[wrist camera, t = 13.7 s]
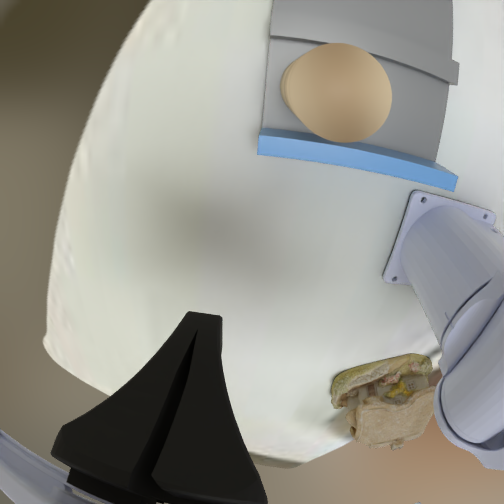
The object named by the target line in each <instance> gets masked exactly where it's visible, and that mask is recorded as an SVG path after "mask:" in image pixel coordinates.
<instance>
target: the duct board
mask: <svg viewBox="0 0 504 504" xmlns="http://www.w3.org/2000/svg"><path fill="white" fill-rule="evenodd" d="M329 43H345V44H350V45H353V46H356V47H359V48H361V49H363V50H365V51H366V52H368V53H369V54H370V55H372V56H373V57H374V58H375V59H376V60H377V61H378V62H379V63H380V64H381V66H382V67H383V69H384V70H385V72H386V74H387V76H388V79H389V81H390V85H391V90H392V103H391V108H390V112H389V115H388V117H387V119H386V120H385V122H384V124H383V125H382V126H381V127H380V128H379V129H378V130H377V131H376V132H375V133H374V134H372V135H371V136H369V137H367V138H365V139H363V140H360V141H356V142H349V143H340V142H334V141H330V140H327V139H324V138H322V137H320V136H318V135H317V134H315V133H314V132H312V131H311V130H309V129H308V128H307V127H306V126H305V125H304V124H303V123H302V122H301V121H300V119H299V118H298V117H297V116H296V115H295V114H294V113H293V112H292V111H291V110H290V109H289V108H288V107H287V105H286V104H285V102H284V100H283V98H282V95H281V91H280V81H281V77H282V75H283V72H284V71H285V69H286V68H287V67H288V66H289V65H290V64H291V63H292V62H293V61H295V60H296V59H298V58H299V57H301V56H302V55H304V54H305V53H307V52H309V51H310V50H312V49H314V48H316V47H318V46H321V45H324V44H329ZM452 44H453V4H452V0H274V1H273V10H272V15H271V26H270V44H269V55H268V66H267V77H266V88H265V99H264V110H263V121H262V129H261V131H260V134H259V140H258V151H257V155H265V156H274V157H283V158H291V159H299V160H306V161H313V162H320V163H326V164H333V165H339V166H344V167H350V168H355V169H361V170H366V171H371V172H376V173H381V174H385V175H390V176H394V177H399V178H403V179H407V180H411V181H415V182H419V183H423V184H427V185H431V186H434V187H438V188H442V189H445V190H449V191H452V192H454V189H455V186H456V182H457V179H458V176H457V175H455V174H454V173H452V172H451V171H449V170H447V169H446V168H444V167H443V166H441V165H440V164H438V163H436V162H435V160H436V156H437V152H438V147H439V143H440V138H441V133H442V128H443V123H444V117H445V111H446V105H447V98H448V91H449V85H457V84H458V75H459V63H458V62H456V61H454V60H452Z"/></svg>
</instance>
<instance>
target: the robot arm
mask: <svg viewBox="0 0 504 504" xmlns="http://www.w3.org/2000/svg"><path fill="white" fill-rule="evenodd" d="M422 197H424V200H423V201H421V198H422ZM484 215H485V216H484ZM495 219H496V215H495V213H493V212H492V211H489V210H486V209H483V208H480V207H476V206H473V205H470V204H466V203H463V202H460V201H456V200H452V199H449V198H445V197H441V196H438V195H434V194H430V193H426V192H422V191H414V192H413V193H412V194H411V196H410V200H409V203H408V206H407V210H406V213H405V216H404V219H403V222H402V225H401V228H400V231H399V234H398V237H397V240H396V243H395V246H394V248H393V251H392V254H391V257H390V259H389V262H388V264H387V267H386V270H385V272H384V275H383V279H384V281H385V282H386V283H393V284H405V285H412V287H413V289H414V291H415V293H416V295H417V297H418V299H419V301H420V303H421V305H422V307H423V309H424V312H425V314H426V316H427V318H428V320H429V322H430V324H431V327H432V329H433V331H434V333H435V336H436V338H437V340H438V343H439V345H440V347H441V350H442V357H441V359H440V360H439V362H438V364H439V366H440V369H441V372H442V375H443V377H442V378H441V379H440V381H439V383H438V384H437V387H436V389H435V393H434V400H433V406H434V413H435V417H436V420H437V423H438V426H439V427H440V429H441V431H442V433H443V434H444V435H445V437H446V438H447V439H448V440H449V441H450V442H452V443H453V444H455V445H456V446H458V447H460V448H462V449H465V450H467V451H469V452H471V453H473V454H474V455H475V456H476V457H477V458H478V459H479V461H480V462H481V463H482V465H483V466H484V467H485V468H489V469H497V470H504V236H503V235H502V234H501V233H500V232H499V231H498V230H497V229H496V228H495V227H494V226H493V224H494V222H495ZM395 276H396V277H395ZM393 277H395V278H393ZM392 278H393V279H392ZM221 352H222V317H221V316H220V315H212V314H205V313H198V312H191V311H189V312H187V313H186V315H185V316H184V318H183V319H182V321H181V322H180V323H179V325H178V326H177V328H176V329H175V330H174V332H173V333H172V334H171V336H170V337H169V338H168V339H167V341H166V342H165V343H164V344H163V345H162V347H161V348H160V349H159V350H158V352H157V353H156V354H155V355H154V356H153V357H152V358H151V359H150V360H149V361H148V363H147V364H146V365H145V366H144V367H143V368H142V369H141V370H140V371H139V372H138V373H137V374H136V375H135V376H134V377H133V378H132V379H130V380H129V381H128V382H127V383H126V384H125V385H124V386H122V387H121V388H120V389H119V390H118V391H116V392H115V393H114V394H113V395H111V396H110V397H109V398H107V399H106V400H105V401H103V402H102V403H100V404H99V405H97V406H96V407H94V408H93V409H91V410H90V411H88V412H87V413H85V414H84V415H82V416H80V417H78V418H77V419H75V420H73V421H71V422H69V423H67V424H65V425H63V426H62V428H61V430H60V431H59V433H58V435H57V437H56V440H55V442H54V445H53V448H52V450H51V455H52V456H53V457H54V458H56V459H57V460H59V461H61V462H63V463H64V464H66V465H67V466H69V467H71V469H70V472H69V473H68V472H66V471H64V470H62V469H60V468H59V467H57V466H55V465H53V464H51V463H50V462H48V461H46V460H45V459H43V458H41V457H40V456H38V455H36V454H35V453H33V452H32V451H30V450H28V449H27V448H25V447H24V446H22V445H21V444H19V443H18V442H17V441H16V440H14V439H13V438H11V437H10V436H9V435H7V434H6V433H5V432H3V431H2V430H1V429H0V489H1V490H2V491H3V492H4V493H5V494H6V495H7V496H8V497H9V498H10V499H11V500H12V501H13V502H14V503H15V504H97V503H95V502H93V501H90V500H88V499H86V498H83V497H81V496H79V495H76V494H74V493H73V492H72V489H74V490H76V491H78V492H80V493H82V494H84V495H87V496H89V497H91V498H93V499H95V500H98V501H100V502H102V503H105V504H156V502H158V503H162V504H164V502H165V503H169V504H268V501H267V496H266V493H265V490H264V487H263V484H262V481H261V479H260V476H259V473H258V471H257V470H256V467H255V466H254V463H253V461H252V459H251V457H250V455H249V453H248V451H247V448H246V446H245V444H244V441H243V439H242V436H241V433H240V431H239V428H238V425H237V423H236V420H235V417H234V414H233V410H232V407H231V404H230V400H229V396H228V392H227V388H226V383H225V378H224V373H223V367H222V359H221ZM71 488H72V489H71ZM415 504H421V503H420V502H419V503H415Z"/></svg>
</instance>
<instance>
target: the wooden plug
mask: <svg viewBox="0 0 504 504" xmlns="http://www.w3.org/2000/svg"><path fill="white" fill-rule="evenodd" d="M280 91H281V95H282V98H283V100H284V102H285V104H286V105H287V107H288V108H289V109H290V110H291V111H292V112H293V113H294V114H295V115H296V116H297V117H298V118H299V119H300V121H301V122H302V123H303V124H304V125H305V126H306V127H307V128H308V129H309V130H311V131H312V132H314V133H315V134H317V135H318V136H320V137H322V138H324V139H327V140H330V141H334V142H340V143H349V142H356V141H360V140H363V139H365V138H367V137H369V136H371V135H372V134H374V133H375V132H376V131H377V130H378V129H379V128H380V127H381V126H382V125H383V124H384V122H385V120H386V119H387V117H388V115H389V112H390V108H391V103H392V90H391V85H390V81H389V79H388V76H387V74H386V72H385V70H384V69H383V67H382V66H381V64H380V63H379V62H378V61H377V60H376V59H375V58H374V57H373V56H372V55H370V54H369V53H368V52H366V51H365V50H363V49H361V48H359V47H356V46H353V45H350V44H345V43H329V44H324V45H321V46H318V47H316V48H314V49H312V50H310V51H309V52H307V53H305V54H304V55H302V56H301V57H299V58H298V59H296V60H295V61H293V62H292V63H291V64H290V65H289V66H288V67H287V68H286V69H285V71H284V72H283V75H282V77H281V81H280Z"/></svg>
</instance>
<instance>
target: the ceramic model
mask: <svg viewBox="0 0 504 504" xmlns="http://www.w3.org/2000/svg"><path fill="white" fill-rule="evenodd" d="M432 369H433V368H432V362H431V360H429V359H428V358H427V357H426V356H424V355H419V354H406V355H402V356H398V357H394V358H389V359H385V360H381V361H376V362H373V363H369V364H365V365H361V366H358V367H354V368H351V369H349V370H346V371H344V372H342V373H340V374H339V375H338V376H337V377H336V378H335V380H334V382H333V385H332V388H331V394H332V400H331V403H332V404H333V407H334V409H338V408H339V409H341V408H342V407H343V406H344V407H348V413H347V414H346V417H345V418H346V419H347V421H348V422H349V423H350V425H352V426H351V428H350V432H351V435H352V437H353V438H354V439H355V440H356V442H360V443H363V444H365V445H366V446H369V448H379V447H384V446H388V445H391V450H395V449H397V448H400V449H401V448H402V447H403V441H409V440H413V439H415V438H418V437H420V436H421V434H422V433H423V432H424V430H425V427H426V425H427V424H428V421H429V420H430V418H431V417H432V415H433V414H434V406H433V400H434V393H435V389H436V387H435V386H430V387H429V384H428V378H427V376H428V374H430V373H431V371H432Z"/></svg>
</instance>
